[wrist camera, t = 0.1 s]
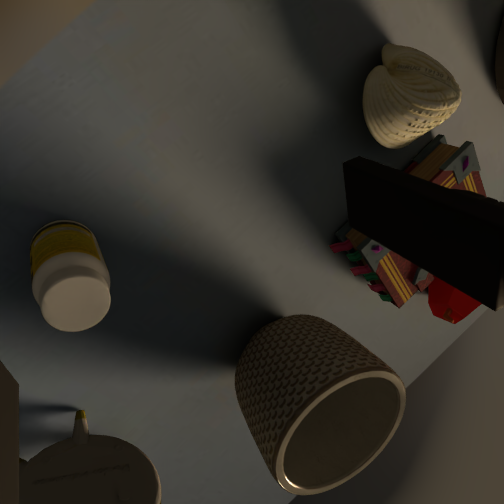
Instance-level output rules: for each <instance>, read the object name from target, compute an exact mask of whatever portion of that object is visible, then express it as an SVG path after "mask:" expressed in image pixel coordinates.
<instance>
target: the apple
mask: <svg viewBox="0 0 504 504" xmlns="http://www.w3.org/2000/svg"><path fill="white" fill-rule="evenodd" d="M433 277H434V280H433V281H432V282H431V283H430V284H429V292H428V303H429V306H430V308H431V311H432V313H433V315H434V316H437V317H439V318H441V319H444V320H446V321H448V322H451V323H453V324H456V323H457V322H459V321H461V320H462V319H464V318H465V317H466V316H468V315H469V314H470V313H471V312H472V311H474V310H475V309H476V308H477V307H478V306H480V305H481V304H482V303H480V302H478V301H477V300H475V299H473V298H472V297H470V296H468V295H466V294H465V293H463V292H461V291H460V290H458V289H456V288H454V287H453V286H451V285H449V284H448V283H446V282H444V281H442V280H441V279H439V278H437V277H436V276H434V275H433Z"/></svg>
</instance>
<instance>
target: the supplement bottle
mask: <svg viewBox="0 0 504 504" xmlns="http://www.w3.org/2000/svg"><path fill="white" fill-rule="evenodd" d="M30 265H31V283H32V291H33V295H34V298H35V300H36V301H37V303H38V304H39V305H40V309H41V313H42V316H43V317H44V319H45V320H46V322H47V323H48V324H50V325H51V326H52V327H54V328H56V329H58V330H61V331H67V332H77V331H82V330H86V329H88V328H91V327H92V326H94V325H96V324H97V323H99V322H100V321H101V320H102V319H103V318H104V316H105V315H106V314H107V312H108V310H109V307H110V302H111V297H110V292H109V290H110V275H109V271H108V269H107V266H106V264H105V261H104V258H103V256H102V253H101V250H100V248H99V245H98V242H97V240H96V238H95V236H94V234H93V233H92V232H91V231H90V230H89V229H88V228H87V227H86V226H84V225H82V224H81V223H78V222H76V221H71V220H58V221H54V222H51V223H48V224H46V225H45V226H43V227H42V228H40V229H39V230H38V231H37V232H36V234H35V235H34V237H33V238H32V241H31V244H30Z"/></svg>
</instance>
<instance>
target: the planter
mask: <svg viewBox="0 0 504 504" xmlns="http://www.w3.org/2000/svg"><path fill="white" fill-rule="evenodd" d="M235 390H236V395H237V400H238V403H239V406H240V408H241V411H242V413H243V416H244V418H245V420H246V423H247V425H248V427H249V430H250V432H251V434H252V436H253V438H254V440H255V442H256V444H257V446H258V448H259V451H260V453H261V455H262V457H263V459H264V461H265V463H266V465H267V467H268V469H269V471H270V473H271V474H272V476H273V477H274V479H275V480H276V481H277V483H278V484H279V485H280V486H281V487H282V488H283V489H284V490H286V491H287V492H290V493H293V494H297V495H312V494H317V493H321V492H324V491H327V490H330V489H332V488H334V487H336V486H338V485H340V484H342V483H344V482H345V481H347V480H349V479H350V478H352V477H353V476H355V475H356V474H358V473H359V472H360V471H361V470H362V469H364V468H365V467H366V466H367V465H368V464H369V463H370V462H372V461H373V460H374V459H375V458H376V457H377V456H378V454H379V453H380V452H381V451H382V450H383V449H384V447H385V446H386V445H387V444H388V442H389V441H390V439H391V438H392V436H393V435H394V433H395V431H396V429H397V428H398V426H399V424H400V421H401V419H402V416H403V413H404V409H405V404H406V391H405V387H404V383H403V382H402V380H401V379H400V377H399V376H398V375H397V374H396V372H395V371H394V370H393V369H392V368H390V367H389V366H388V365H387V364H386V363H385V362H383V361H382V360H381V359H380V358H378V357H377V356H376V355H375V354H373V353H372V352H371V351H369V350H368V349H367V348H366V347H364V346H363V345H362V344H360V343H359V342H358V341H357V340H355V339H354V338H353V337H351V336H350V335H348V334H347V333H346V332H344V331H343V330H341V329H340V328H338V327H337V326H335V325H333V324H332V323H330V322H328V321H326V320H324V319H322V318H319V317H316V316H311V315H303V314H301V315H292V316H288V317H284V318H281V319H279V320H276V321H274V322H271V323H269V324H267V325H265V326H263V327H262V328H261V329H259V330H258V331H257V332H256V333H255V334H254V335H253V336H252V338H251V339H250V341H249V343H248V344H247V346H246V347H245V349H244V350H243V352H242V354H241V356H240V358H239V361H238V364H237V367H236V372H235Z"/></svg>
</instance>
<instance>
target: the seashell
mask: <svg viewBox="0 0 504 504" xmlns="http://www.w3.org/2000/svg"><path fill="white" fill-rule="evenodd" d="M381 55H382V61H383V66H382V65H380V66H377V67H375V68H374V69H373V70H372V71H371V72H370V73H369V75H368V77H367V79H366V81H365V85H364V91H363V112H364V118H365V122H366V124H367V127H368V129H369V131H370V133H371V134H372V136H373V137H374V139H375V140H376V141H377V142H379V143H380V144H381V145H383V146H385V147H387V148H391V149H399V148H403V147H405V146H407V145H410V144H411V143H412V142H413V141H414V140H415V139H418V138H419V137H420V136H422V135H424V134H425V133H426V132H428V131H430V130H431V129H433V128H434V127H436V126H439V125H440V124H441V123H442V122H443V121H444V120H447V119H448V118H449V117H450V116H451V114H452V113H453V112H454V111H456V109H457V107H458V105H459V104H460V102H461V95H462V93H461V90H460V88H459V85H458V84H457V83H456V81H455V79H454V77H453V76H452V74H451V73H450V72H449V71H448V70H447V69H446V68H445V67H444V66H442V65H441V64H440V63H439V62H438V61H436V60H435V59H433V58H432V57H430V56H429V55H427V54H426V53H424V52H421V51H419V50H417V49H414V48H411V47H405V46H399V45H394V44H391V43H388V44H386V45H385V46H384V47H383V49H382V54H381Z"/></svg>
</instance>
